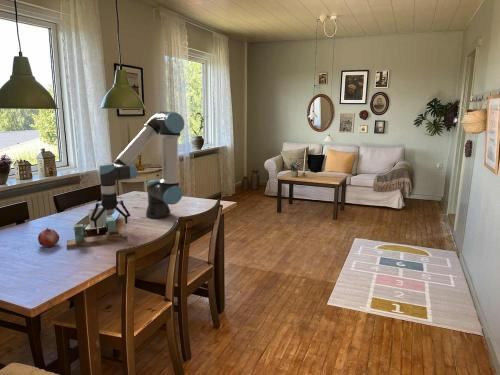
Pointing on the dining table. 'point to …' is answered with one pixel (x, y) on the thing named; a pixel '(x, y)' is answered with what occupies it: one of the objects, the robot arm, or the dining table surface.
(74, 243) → the rail
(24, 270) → the dining table surface
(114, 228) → the teal rectangular block
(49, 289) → the dining table surface
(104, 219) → the grey rounded block
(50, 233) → the fruit
